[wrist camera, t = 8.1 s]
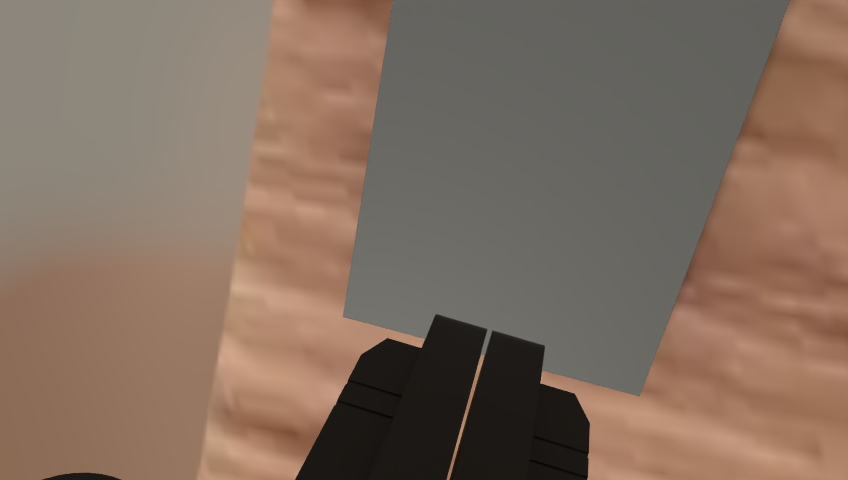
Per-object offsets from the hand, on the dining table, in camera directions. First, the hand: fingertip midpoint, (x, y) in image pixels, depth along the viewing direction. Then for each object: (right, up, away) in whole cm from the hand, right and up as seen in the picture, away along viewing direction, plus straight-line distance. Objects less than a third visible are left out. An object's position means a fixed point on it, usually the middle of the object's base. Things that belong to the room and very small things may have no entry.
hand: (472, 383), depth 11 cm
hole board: (+5, +10, +17) cm, 20 cm away
